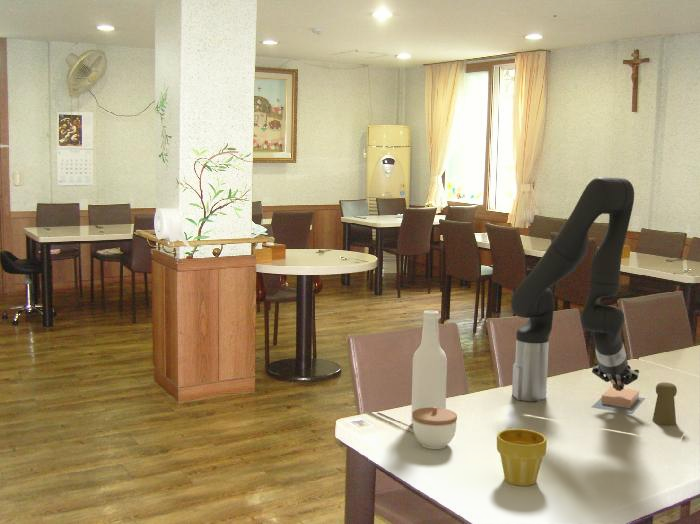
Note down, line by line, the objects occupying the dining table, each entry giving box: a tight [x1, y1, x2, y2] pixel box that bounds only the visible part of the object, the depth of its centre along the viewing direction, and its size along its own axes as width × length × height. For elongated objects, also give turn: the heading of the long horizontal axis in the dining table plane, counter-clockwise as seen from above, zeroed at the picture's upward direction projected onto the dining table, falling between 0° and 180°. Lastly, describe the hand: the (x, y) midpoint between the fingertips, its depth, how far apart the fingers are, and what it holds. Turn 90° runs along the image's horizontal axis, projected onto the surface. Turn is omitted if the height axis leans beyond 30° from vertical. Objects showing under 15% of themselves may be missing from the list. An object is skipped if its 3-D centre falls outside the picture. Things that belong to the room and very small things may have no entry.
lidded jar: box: [411, 407, 458, 450], centre depth 188 cm, size 11×11×9 cm
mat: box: [591, 396, 646, 415], centre depth 224 cm, size 18×11×1 cm, turn 148°
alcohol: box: [410, 309, 448, 424], centre depth 202 cm, size 9×9×30 cm
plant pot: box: [496, 428, 548, 487], centre depth 167 cm, size 10×10×10 cm
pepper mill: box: [652, 381, 678, 427], centre depth 206 cm, size 6×6×11 cm
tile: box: [601, 386, 640, 408], centre depth 225 cm, size 2×8×11 cm
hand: (619, 388), depth 223 cm, fingers closed
